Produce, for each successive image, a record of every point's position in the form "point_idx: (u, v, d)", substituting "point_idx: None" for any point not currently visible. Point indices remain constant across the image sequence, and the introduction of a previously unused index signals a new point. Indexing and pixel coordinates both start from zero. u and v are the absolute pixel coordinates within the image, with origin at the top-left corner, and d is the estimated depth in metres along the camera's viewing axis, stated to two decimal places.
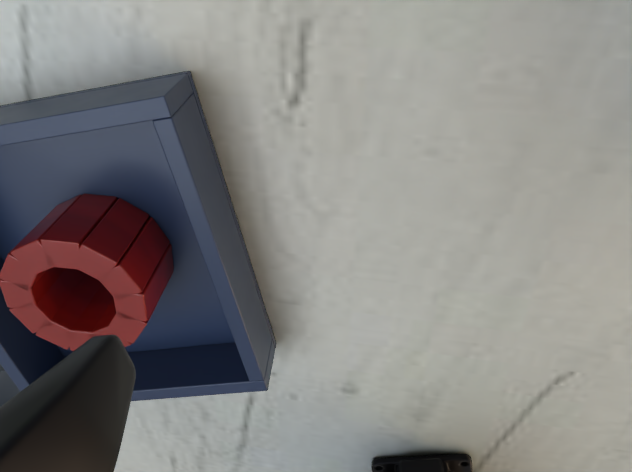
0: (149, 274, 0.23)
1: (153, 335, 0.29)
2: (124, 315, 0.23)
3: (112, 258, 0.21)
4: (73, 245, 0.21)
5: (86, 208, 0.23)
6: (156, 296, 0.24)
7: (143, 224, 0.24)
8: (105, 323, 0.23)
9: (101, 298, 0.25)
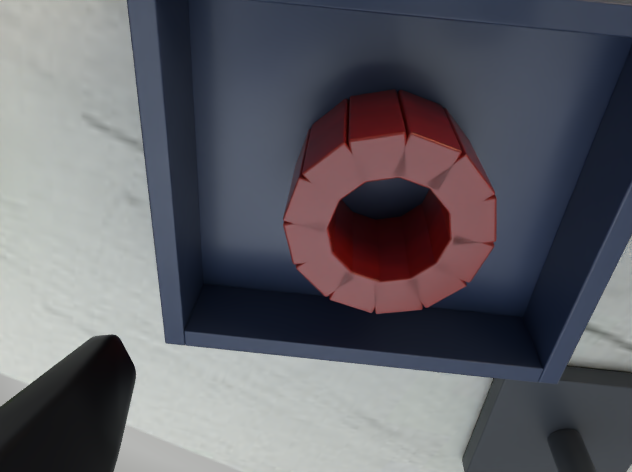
0: (397, 117, 0.15)
1: (543, 190, 0.19)
2: (437, 179, 0.14)
3: (337, 146, 0.14)
4: (300, 185, 0.15)
5: (297, 164, 0.17)
6: (443, 129, 0.15)
7: (346, 106, 0.17)
8: (447, 215, 0.15)
9: (432, 215, 0.18)
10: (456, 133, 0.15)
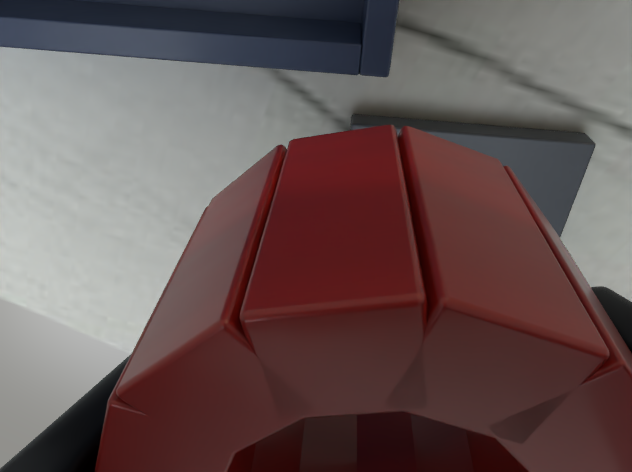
0: (399, 226, 0.05)
1: None
2: (522, 419, 0.05)
3: (208, 326, 0.05)
4: (118, 419, 0.05)
5: None
6: (529, 251, 0.05)
7: (275, 168, 0.07)
8: None
9: None
10: (559, 255, 0.06)
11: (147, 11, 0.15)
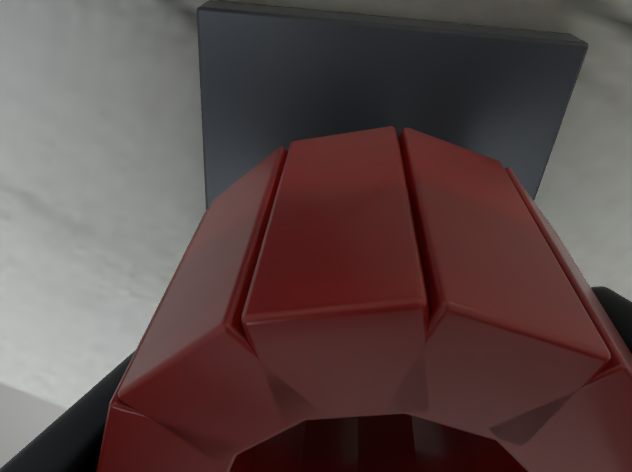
0: (400, 228, 0.05)
1: None
2: (523, 421, 0.05)
3: (209, 329, 0.05)
4: (118, 421, 0.05)
5: None
6: (530, 253, 0.05)
7: (276, 169, 0.07)
8: None
9: None
10: (560, 257, 0.06)
11: None
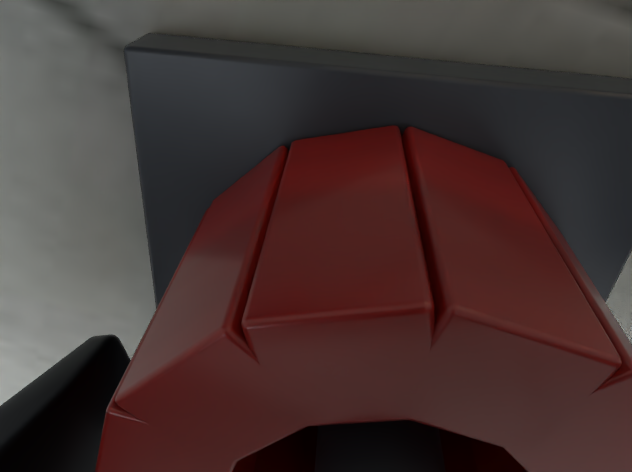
0: (404, 230, 0.05)
1: None
2: (531, 428, 0.05)
3: (209, 333, 0.04)
4: (117, 426, 0.05)
5: None
6: (537, 255, 0.05)
7: (277, 169, 0.07)
8: None
9: None
10: (567, 259, 0.05)
11: None
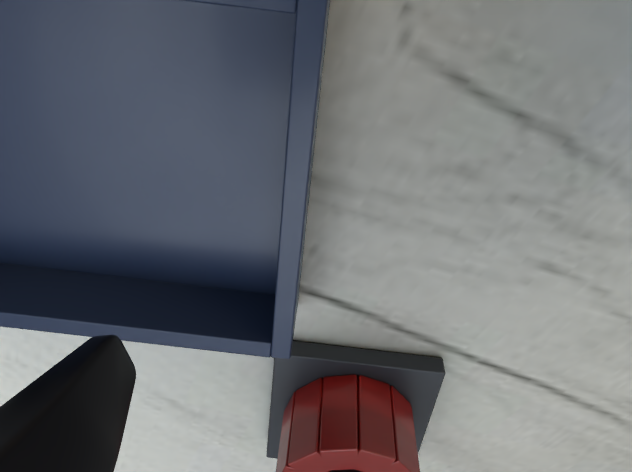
0: (354, 425, 0.21)
1: (262, 166, 0.19)
2: (380, 471, 0.21)
3: (311, 451, 0.21)
4: (287, 469, 0.22)
5: (285, 424, 0.24)
6: (385, 429, 0.22)
7: (320, 391, 0.23)
8: None
9: None
10: (395, 428, 0.22)
11: (130, 290, 0.22)
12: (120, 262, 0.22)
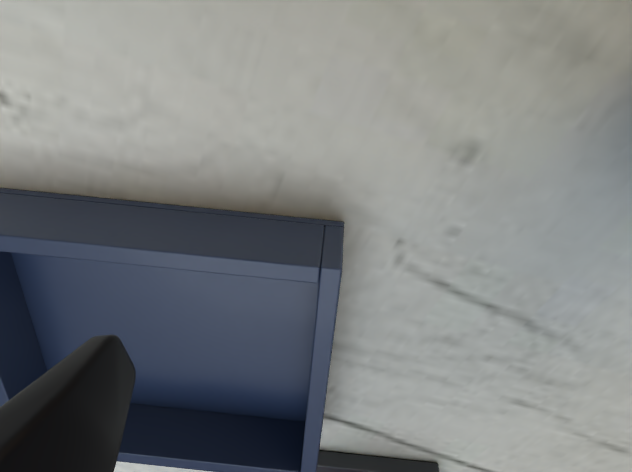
0: None
1: (291, 339, 0.25)
2: None
3: None
4: None
5: None
6: None
7: None
8: None
9: None
10: None
11: (187, 422, 0.27)
12: (178, 399, 0.28)
